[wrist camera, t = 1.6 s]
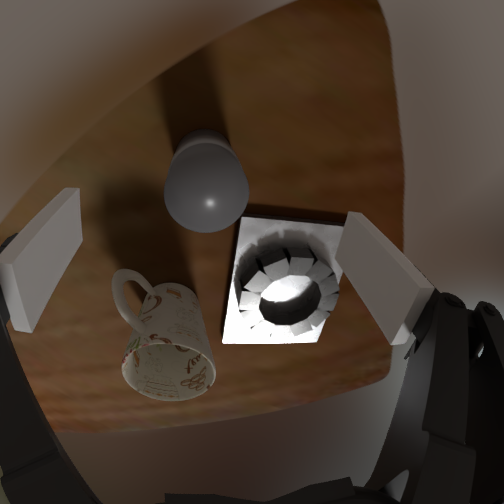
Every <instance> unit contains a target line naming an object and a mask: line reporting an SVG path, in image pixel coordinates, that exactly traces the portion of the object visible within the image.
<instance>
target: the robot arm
mask: <svg viewBox="0 0 504 504" xmlns="http://www.w3.org/2000/svg"><path fill="white" fill-rule="evenodd" d="M82 241H83V239H82V227H81V213H80V193H79V188H64V189H63V190H62V191H61V192H60V193H59V194H58V195H57V196H56V197H55V198H53V199H52V200H51V201H50V202H49V203H48V204H47V205H46V206H45V207H44V208H43V209H42V210H41V211H40V212H39V213H38V214H37V215H36V216H35V217H34V218H33V219H32V220H31V221H30V222H29V223H28V224H27V225H26V226H25V227H24V228H23V229H22V230H21V232H20V233H15V234H14V235H12V236H11V237H9V238H7V239H6V240H5V241H4V242H3V244H2V245H1V247H0V466H1V468H2V471H3V476H2V477H1V484H2V487H3V490H4V492H5V494H6V496H7V498H8V500H9V502H10V504H103V503H102V502H101V501H100V500H99V499H98V497H97V496H96V495H95V494H94V492H93V491H92V490H91V488H90V487H89V486H88V484H87V483H86V482H85V480H84V479H83V477H82V476H81V475H80V473H79V471H78V470H77V469H76V467H75V466H74V464H73V462H72V461H71V459H70V458H69V456H68V455H67V453H66V452H65V450H64V448H63V447H62V445H61V443H60V442H59V440H58V438H57V437H56V435H55V433H54V431H53V430H52V428H51V426H50V424H49V422H48V421H47V419H46V417H45V415H44V413H43V411H42V409H41V407H40V405H39V403H38V401H37V399H36V397H35V395H34V393H33V391H32V389H31V387H30V385H29V382H28V380H27V378H26V376H25V373H24V371H23V369H22V366H21V364H20V362H19V359H18V357H17V354H16V351H15V349H14V346H13V344H12V341H11V338H10V335H9V333H8V330H7V327H6V323H7V322H8V320H9V318H10V319H11V321H12V324H13V327H14V329H15V330H17V331H22V332H28V333H32V332H33V330H34V328H35V326H36V324H37V322H38V320H39V318H40V316H41V314H42V312H43V310H44V308H45V306H46V304H47V302H48V300H49V298H50V297H51V295H52V293H53V291H54V289H55V287H56V285H57V284H58V282H59V280H60V278H61V277H62V275H63V273H64V271H65V270H66V268H67V266H68V264H69V263H70V261H71V259H72V258H73V256H74V254H75V253H76V251H77V249H78V248H79V246H80V244H81V243H82ZM335 260H336V261H337V263H338V264H339V266H340V267H341V269H342V270H343V272H344V273H345V275H346V276H347V278H348V279H349V281H350V282H351V284H352V285H353V287H354V288H355V290H356V291H357V293H358V294H359V296H360V297H361V299H362V300H363V302H364V303H365V305H366V307H367V308H368V310H369V311H370V313H371V314H372V316H373V317H374V319H375V321H376V322H377V324H378V325H379V327H380V329H381V330H382V332H383V333H384V335H385V337H386V338H387V340H388V341H389V343H390V345H396V344H405V343H406V341H407V339H408V338H409V335H410V334H411V332H413V334H414V335H415V337H416V339H415V341H414V343H413V344H412V346H411V348H410V349H409V351H408V353H407V354H406V356H405V357H404V359H407V358H408V357H409V360H408V364H407V368H406V372H405V376H404V381H403V384H402V388H401V391H400V395H399V398H398V402H397V405H396V408H395V412H394V415H393V418H392V421H391V424H390V428H389V430H388V433H387V436H386V439H385V442H384V445H383V448H382V450H381V453H380V456H379V458H378V461H377V464H376V466H375V468H374V471H373V473H372V475H371V477H370V479H369V481H368V482H367V483H366V484H365V486H364V487H359V486H353V485H352V482H351V479H350V477H346V478H342V479H338V480H333V481H328V482H324V483H318V484H313V485H309V486H306V487H304V488H301V489H299V490H297V491H294V492H292V493H289V494H287V495H284V496H281V497H279V498H276V499H273V500H271V501H267V502H259V501H251V500H244V499H237V498H231V497H226V496H220V495H215V494H205V495H204V494H166V493H165V502H163V503H157V504H504V320H503V318H502V316H501V314H500V312H499V311H498V310H497V309H496V308H495V306H494V305H492V304H490V303H487V302H484V301H480V302H479V303H478V304H477V306H476V308H475V310H469V309H466V306H465V304H464V303H463V301H462V300H461V299H459V298H458V297H457V296H455V295H453V294H450V293H445V292H443V293H440V292H439V291H438V290H437V289H436V288H435V287H434V285H432V283H431V282H430V281H429V280H428V279H426V277H425V276H424V275H423V274H422V273H421V272H420V270H419V269H418V268H416V266H415V265H413V264H412V263H411V262H410V261H409V260H408V259H407V258H406V257H405V256H404V255H403V254H402V252H401V251H400V250H399V249H398V248H397V247H396V246H395V245H394V244H393V243H392V242H391V241H390V240H389V239H388V238H387V237H386V236H385V235H384V234H383V233H381V232H380V231H379V230H378V229H377V228H376V227H375V226H374V225H373V224H372V223H371V222H370V221H369V220H368V219H367V218H366V217H365V216H364V215H363V214H362V213H356V212H348V215H347V219H346V222H345V226H344V229H343V232H342V236H341V239H340V242H339V245H338V249H337V252H336V255H335ZM483 346H484V348H483ZM482 348H483V352H482V354H481V356H480V357H478V353H479V352H480V351H481V349H482Z"/></svg>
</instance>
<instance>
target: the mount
mask: <svg viewBox="0 0 504 504" xmlns="http://www.w3.org/2000/svg"><path fill="white" fill-rule="evenodd" d="M344 226H345V223H339V222H330V221H321V220H312V219H302V218H292V217H282V216H272V215H261V214H250V213H242V214H241V216H240V219H239V225H238V231H237V238H236V244H235V251H234V257H233V264H232V271H231V277H230V284H229V291H228V298H227V305H226V311H225V318H224V325H223V332H222V343H301V342H317V340H318V337H319V335H320V332H321V330H322V327H323V325H324V322H325V319H326V318H327V317H328V316H329V315H330V314H331V313H330V312H329V311H333V309H334V307H335V304H336V301H337V299H338V296H339V293H338V291H339V286H338V284H339V281H340V278H341V275H342V272H343V270H342V269H341V267H340V266H339V264H338V263H337V261H336V260H335V255H336V252H337V249H338V245H339V242H340V239H341V236H342V232H343V229H344Z"/></svg>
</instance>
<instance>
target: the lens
mask: <svg viewBox="0 0 504 504" xmlns="http://www.w3.org/2000/svg"><path fill="white" fill-rule="evenodd" d="M248 198H249V185H248V181H247V178H246V176H245V174H244V172H243V170H242V167H241V164H240V162H239V160H238V158H237V156H236V154H235V152H234V151H233V149H232V148H231V146H230V144H229V142H228V141H227V139H226V138H225V137H224V136H223V135H222V134H220V133H219V132H217V131H214V130H211V129H198V130H195V131H192V132H190V133H188V134H187V135H186V136H185V137H183V138H182V140H181V141H180V142H179V144H178V146H177V149H176V152H175V154H174V156H173V159H172V161H171V164H170V167H169V171H168V176H167V179H166V183H165V187H164V200H165V204H166V207H167V209H168V212H169V213H170V215H171V216H172V217H173V219H174V220H175V221H176V222H177V223H179V224H180V225H181V226H183V227H185V228H187V229H189V230H192V231H196V232H202V233H209V232H215V231H219V230H222V229H224V228H226V227H228V226H230V225H231V224H233V223H234V222H235V221H236V220H237V219H238V218H239V217H240V216H241V214H242V213H243V211H244V210H245V208H246V205H247V202H248Z"/></svg>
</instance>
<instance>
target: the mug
mask: <svg viewBox="0 0 504 504" xmlns="http://www.w3.org/2000/svg"><path fill="white" fill-rule="evenodd" d="M128 280H134V281H136V282H138V283H139V284H140V285H141V286H142V287H143V288H144V289H145V290H146V291H147V292H148V294H147V295H146V297H145V300H144V302H143V305H142V307H141V310H140V313H139V315H138V317H137V316H136V315H135V314H134V313H133V312H132V311H131V309H130V308H129V306H128V304H127V302H126V299H125V296H124V292H123V285H124V283H125V282H126V281H128ZM112 294H113V298H114V301H115V304H116V306H117V309H118V311H119V313H120V314H121V316H122V317H123V318H124V319H125V320H126V321H127V322H128V323H129V324H130V325H131V326H132V327H133V331H132V334H131V337H130V339H129V342H128V345H127V348H126V350H125V353H124V356H123V360H122V373H123V376H124V378H125V380H126V381H127V383H128V384H129V385H130V386H131V387H132V388H134V389H135V390H136V391H138V392H140V393H141V394H143V395H146V396H148V397H151V398H154V399H159V400H165V401H181V400H187V399H191V398H194V397H197V396H199V395H201V394H202V393H204V392H205V391H207V390H208V389H209V388H210V387H211V386H212V384H213V382H214V380H215V376H216V369H215V363H214V359H213V356H212V352H211V348H210V345H209V341H208V337H207V333H206V329H205V325H204V321H203V317H202V313H201V309H200V305H199V302H198V299H197V297H196V295H195V294H194V293H193V291H191V290H190V289H189V288H188V287H186V286H184V285H181V284H177V283H163V284H159V285H157V286H155V287H154V288H153V287H152V286H151V285H150V284H149V282H148V281H147V280H146V279H145V278H144V277H143V276H142V275H141V274H140V273H138V272H136V271H133V270H130V269H120V270H118V271H116V272H115V274H114V275H113V278H112Z"/></svg>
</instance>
